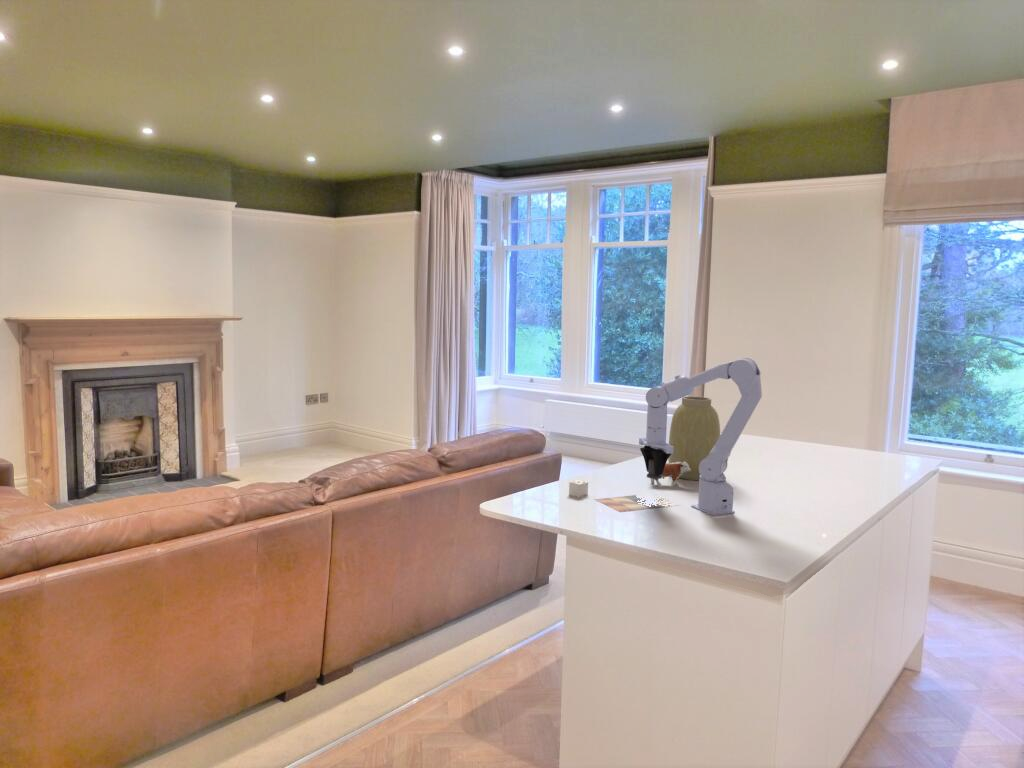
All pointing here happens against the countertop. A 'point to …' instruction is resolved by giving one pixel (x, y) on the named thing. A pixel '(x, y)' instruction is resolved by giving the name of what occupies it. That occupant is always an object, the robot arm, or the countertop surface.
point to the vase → (693, 433)
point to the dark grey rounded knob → (652, 471)
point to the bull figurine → (673, 471)
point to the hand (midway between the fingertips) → (654, 473)
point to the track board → (628, 503)
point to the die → (578, 488)
